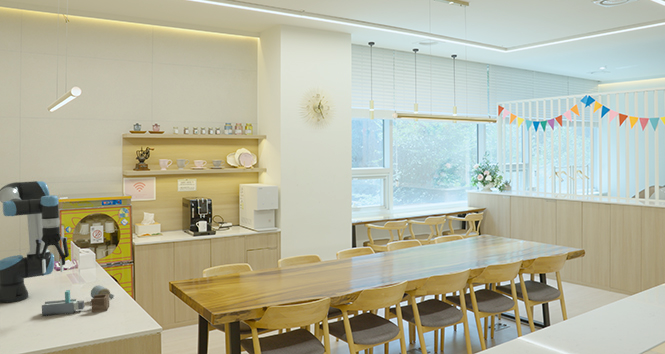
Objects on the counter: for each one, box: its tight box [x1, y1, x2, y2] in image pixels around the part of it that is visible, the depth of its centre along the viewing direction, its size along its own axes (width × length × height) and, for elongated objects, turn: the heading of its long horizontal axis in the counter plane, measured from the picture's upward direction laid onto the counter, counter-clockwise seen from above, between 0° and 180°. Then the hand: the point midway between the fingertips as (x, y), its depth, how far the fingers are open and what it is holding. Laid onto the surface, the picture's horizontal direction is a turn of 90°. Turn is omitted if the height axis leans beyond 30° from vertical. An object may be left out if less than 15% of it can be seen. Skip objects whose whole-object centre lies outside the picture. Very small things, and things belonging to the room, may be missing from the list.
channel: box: [41, 298, 77, 317], centre depth 245 cm, size 6×14×6 cm, turn 106°
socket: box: [90, 294, 110, 313], centre depth 250 cm, size 8×7×6 cm
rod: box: [43, 289, 85, 311], centre depth 245 cm, size 4×18×10 cm, turn 106°
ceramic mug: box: [90, 284, 115, 299], centre depth 266 cm, size 11×8×8 cm
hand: (53, 272), depth 243 cm, fingers open, 7 cm apart
